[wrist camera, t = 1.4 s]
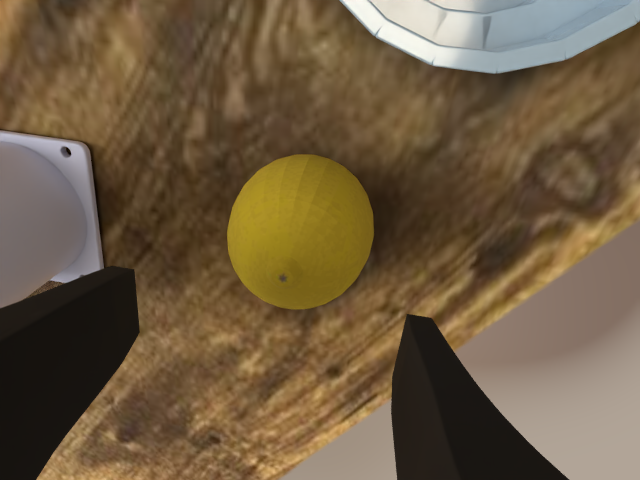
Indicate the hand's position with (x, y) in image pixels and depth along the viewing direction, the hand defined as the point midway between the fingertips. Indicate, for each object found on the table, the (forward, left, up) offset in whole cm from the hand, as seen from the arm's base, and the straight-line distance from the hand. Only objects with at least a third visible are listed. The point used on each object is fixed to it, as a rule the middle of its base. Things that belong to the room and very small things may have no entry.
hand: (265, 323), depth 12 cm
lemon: (0, 0, -10) cm, 11 cm away
